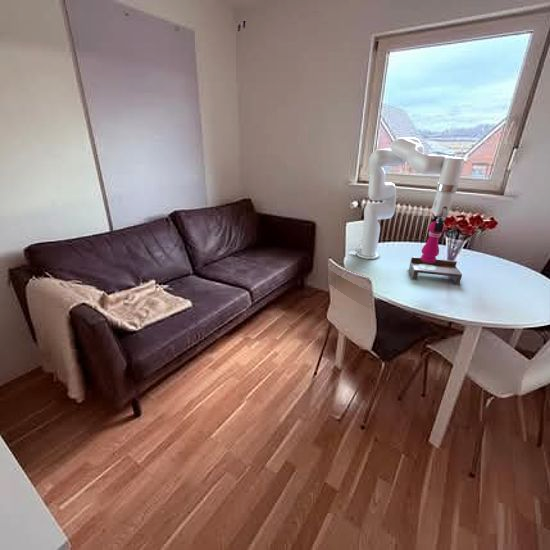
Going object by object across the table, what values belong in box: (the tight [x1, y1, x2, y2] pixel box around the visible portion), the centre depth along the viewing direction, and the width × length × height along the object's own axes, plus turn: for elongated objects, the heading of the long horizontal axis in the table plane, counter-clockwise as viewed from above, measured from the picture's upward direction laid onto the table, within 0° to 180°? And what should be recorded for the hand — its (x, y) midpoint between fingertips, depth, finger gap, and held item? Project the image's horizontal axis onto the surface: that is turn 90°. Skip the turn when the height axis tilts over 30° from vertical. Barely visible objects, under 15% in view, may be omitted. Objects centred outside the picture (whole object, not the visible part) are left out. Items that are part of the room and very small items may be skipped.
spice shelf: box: [408, 256, 463, 285], centre depth 160 cm, size 22×12×8 cm, turn 77°
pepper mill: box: [420, 218, 445, 263], centre depth 140 cm, size 7×7×20 cm
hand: (435, 229), depth 138 cm, fingers closed on pepper mill, 6 cm apart
